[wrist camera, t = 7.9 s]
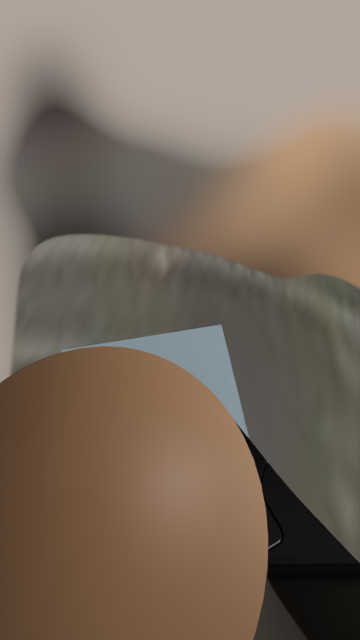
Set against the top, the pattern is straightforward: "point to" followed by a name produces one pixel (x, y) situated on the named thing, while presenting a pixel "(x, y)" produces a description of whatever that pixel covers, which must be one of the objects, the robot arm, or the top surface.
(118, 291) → the top surface
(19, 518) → the walnut peg
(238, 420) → the hole block
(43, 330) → the top surface
